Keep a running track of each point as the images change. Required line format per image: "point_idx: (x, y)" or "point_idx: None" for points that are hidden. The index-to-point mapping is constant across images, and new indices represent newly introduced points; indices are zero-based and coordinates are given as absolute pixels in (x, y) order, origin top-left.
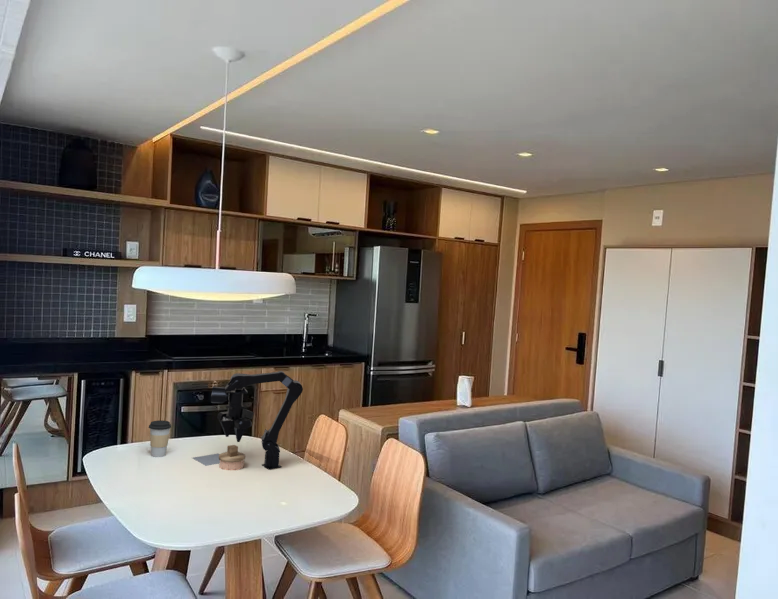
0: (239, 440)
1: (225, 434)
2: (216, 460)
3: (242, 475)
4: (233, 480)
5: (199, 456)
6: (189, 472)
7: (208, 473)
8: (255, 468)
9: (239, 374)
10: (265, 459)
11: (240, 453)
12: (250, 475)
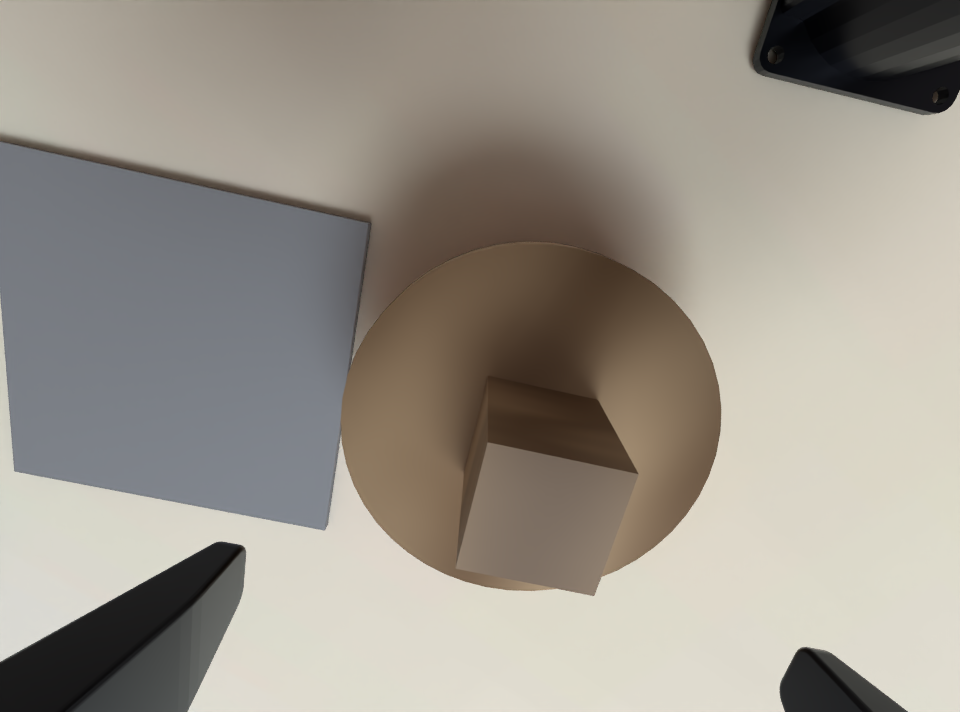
0: (856, 703)
1: (186, 678)
2: (240, 352)
3: (776, 461)
4: (794, 593)
5: (9, 390)
6: (373, 688)
7: (499, 615)
8: (747, 202)
9: None
10: (898, 36)
11: (541, 280)
12: (844, 409)
